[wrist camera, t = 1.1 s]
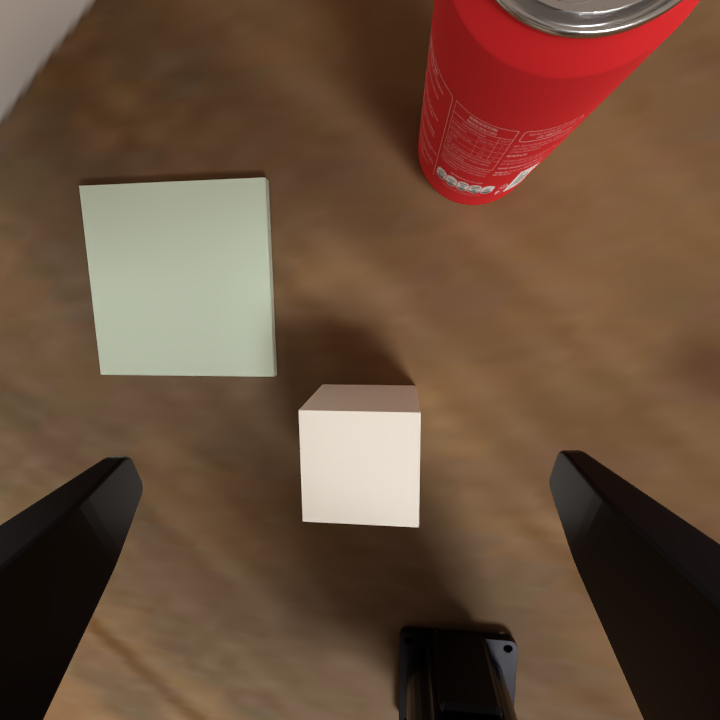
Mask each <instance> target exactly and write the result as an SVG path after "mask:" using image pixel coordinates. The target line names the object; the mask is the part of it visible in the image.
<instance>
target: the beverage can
mask: <svg viewBox="0 0 720 720" xmlns="http://www.w3.org/2000/svg"><path fill="white" fill-rule="evenodd" d="M699 1H700V0H434V8H433V17H432V26H431V35H430V43H429V52H428V61H427V70H426V79H425V88H424V96H423V105H422V114H421V123H420V132H419V141H418V154H419V160H420V165H421V168H422V170H423V173H424V175H425V177H426V179H427V180H428V182H429V183H430V184H431V186H432V187H433V188H434V189H435V190H436V191H437V192H438V193H439V194H441V195H442V196H444V197H445V198H447V199H449V200H451V201H454V202H457V203H461V204H466V205H479V204H485V203H489V202H492V201H495V200H497V199H499V198H501V197H503V196H505V195H506V194H508V193H509V192H511V191H512V190H513V189H514V188H515V187H516V186H517V185H519V184H520V183H521V182H522V181H523V180H524V179H525V178H526V177H527V176H528V175H529V174H530V173H531V172H532V171H533V170H534V169H535V168H536V167H537V166H538V165H539V164H540V163H541V162H542V161H543V160H544V159H545V158H546V157H547V156H548V155H549V154H550V153H551V152H552V151H553V150H554V149H555V148H556V147H557V146H558V145H559V144H560V143H561V142H562V141H563V140H564V139H565V138H566V137H567V136H568V135H569V134H570V133H571V132H572V131H573V130H574V129H575V128H576V127H577V126H578V125H579V124H580V123H581V122H582V121H583V120H584V119H585V118H586V117H587V116H588V115H589V114H590V113H591V112H592V111H593V110H594V109H595V108H596V107H597V106H598V105H599V104H600V103H601V102H603V101H604V100H605V99H606V98H607V97H608V96H609V95H610V94H611V93H612V92H613V91H614V90H615V89H616V88H617V87H618V86H619V85H620V84H621V83H622V82H623V81H624V80H625V79H626V78H627V77H628V76H629V75H630V74H631V73H632V72H633V71H634V70H635V69H636V68H637V67H638V66H639V65H640V64H641V63H642V62H643V61H644V60H645V59H646V58H647V57H648V56H649V55H650V54H651V53H652V52H653V51H654V50H655V49H656V48H657V47H658V46H659V45H660V44H661V43H662V42H663V41H664V40H665V39H666V38H667V37H668V36H669V35H670V34H671V33H672V32H673V31H674V30H675V29H676V28H677V27H678V26H679V25H680V24H681V23H682V22H683V21H684V20H685V19H686V17H687V16H688V15H689V14H690V13H691V11H692V10H693V9H694V7H695V6H696V5H697V4H698V2H699Z"/></svg>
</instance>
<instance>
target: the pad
mask: <svg viewBox="0 0 720 720" xmlns="http://www.w3.org/2000/svg"><path fill="white" fill-rule="evenodd" d="M79 189H80V198H81V207H82V215H83V224H84V232H85V241H86V250H87V258H88V267H89V276H90V284H91V293H92V302H93V310H94V319H95V328H96V336H97V345H98V353H99V362H100V371H101V375H174V376H258V377H274V376H276V375H277V361H276V338H275V315H274V292H273V269H272V246H271V223H270V200H269V180H267V179H266V178H265V177H263V178H240V179H218V180H196V181H174V182H152V183H130V184H108V185H86V186H79Z"/></svg>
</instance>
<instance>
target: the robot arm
mask: <svg viewBox="0 0 720 720" xmlns="http://www.w3.org/2000/svg"><path fill="white" fill-rule="evenodd" d="M549 482H550V489H551V492H552V495H553V499H554V502H555V505H556V508H557V511H558V514H559V517H560V520H561V523H562V526H563V529H564V532H565V535H566V538H567V542H568V545H569V548H570V551H571V553H572V556H573V559H574V562H575V564H576V567H577V569H578V571H579V574H580V576H581V578H582V581H583V583H584V585H585V587H586V590H587V592H588V594H589V596H590V599H591V601H592V603H593V605H594V608H595V610H596V612H597V614H598V617H599V619H600V621H601V623H602V626H603V628H604V630H605V633H606V635H607V637H608V639H609V642H610V644H611V646H612V648H613V651H614V653H615V655H616V657H617V660H618V662H619V664H620V666H621V669H622V671H623V673H624V675H625V678H626V680H627V682H628V684H629V687H630V689H631V691H632V694H633V696H634V698H635V700H636V703H637V705H638V707H639V709H640V712H641V714H642V716H643V718H644V720H720V544H718V543H717V542H716V541H714V540H713V539H711V538H710V537H708V536H707V535H705V534H704V533H702V532H701V531H699V530H698V529H696V528H695V527H693V526H692V525H691V524H689V523H688V522H686V521H685V520H683V519H682V518H680V517H679V516H677V515H676V514H674V513H673V512H671V511H670V510H668V509H667V508H666V507H664V506H663V505H661V504H660V503H658V502H657V501H655V500H654V499H652V498H651V497H649V496H648V495H646V494H645V493H643V492H642V491H641V490H639V489H638V488H636V487H635V486H633V485H632V484H630V483H629V482H627V481H626V480H624V479H623V478H621V477H620V476H618V475H617V474H615V473H614V472H613V471H611V470H610V469H608V468H607V467H605V466H604V465H602V464H601V463H599V462H598V461H596V460H595V459H593V458H592V457H590V456H589V455H588V454H586V453H584V452H583V451H579V450H564V451H561V452H559V453H558V455H557V458H556V461H555V464H554V467H553V470H552V473H551V476H550V481H549ZM142 489H143V486H142V481H141V479H140V477H139V475H138V472H137V470H136V468H135V466H134V464H133V461H132V460H131V459H130V458H129V457H126V456H111V457H107V458H105V459H103V460H101V461H100V462H98V463H97V464H95V465H94V466H92V467H91V468H89V469H87V470H86V471H84V472H83V473H81V474H80V475H78V476H77V477H75V478H73V479H72V480H70V481H69V482H67V483H66V484H64V485H63V486H61V487H59V488H58V489H56V490H55V491H53V492H52V493H50V494H49V495H47V496H45V497H44V498H42V499H41V500H39V501H38V502H36V503H35V504H33V505H31V506H30V507H28V508H27V509H25V510H24V511H22V512H20V513H19V514H17V515H16V516H14V517H13V518H11V519H10V520H8V521H6V522H5V523H3V524H2V525H0V720H43V719H44V716H45V714H46V712H47V710H48V708H49V706H50V704H51V702H52V700H53V697H54V695H55V693H56V691H57V689H58V687H59V685H60V683H61V680H62V678H63V676H64V674H65V672H66V670H67V668H68V666H69V664H70V661H71V659H72V657H73V655H74V653H75V651H76V649H77V647H78V645H79V642H80V640H81V638H82V636H83V634H84V632H85V630H86V628H87V626H88V623H89V621H90V619H91V617H92V615H93V613H94V611H95V609H96V607H97V604H98V602H99V600H100V598H101V596H102V594H103V592H104V590H105V588H106V585H107V583H108V581H109V579H110V577H111V575H112V572H113V570H114V568H115V566H116V563H117V561H118V558H119V556H120V553H121V550H122V547H123V545H124V542H125V539H126V536H127V534H128V531H129V528H130V525H131V522H132V520H133V517H134V514H135V511H136V509H137V506H138V503H139V500H140V497H141V494H142ZM408 636H409V637H411V638H406V637H408ZM505 645H509V646H505ZM516 665H517V645H516V642H515V640H514V638H513V637H511V636H510V635H504V634H491V633H479V632H466V631H454V630H442V629H429V628H417V627H404V628H402V629H401V631H400V652H399V720H517V717H516V713H515V710H514V697H515V681H516Z"/></svg>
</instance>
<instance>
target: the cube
mask: <svg viewBox="0 0 720 720" xmlns="http://www.w3.org/2000/svg"><path fill="white" fill-rule="evenodd" d="M420 421H421V412H420V406H419V401H418V395H417V390H416V386H414V385H336V384H322V385H321V387H320V388H319V389H318V390H317V391H316V392H315V393H314V394H313V395H312V396H311V397H310V398H309V400H308V401H307V402H306V403H305V404H304V405H303V406H302V407H301V408H300V409H299V435H300V462H301V489H302V516H303V522H322V523H341V524H361V525H380V526H400V527H419V490H420Z"/></svg>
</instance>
